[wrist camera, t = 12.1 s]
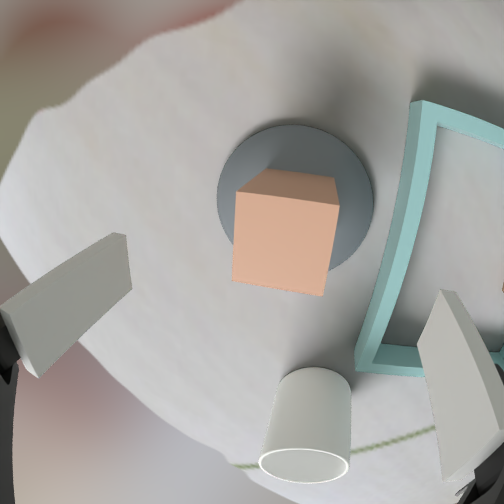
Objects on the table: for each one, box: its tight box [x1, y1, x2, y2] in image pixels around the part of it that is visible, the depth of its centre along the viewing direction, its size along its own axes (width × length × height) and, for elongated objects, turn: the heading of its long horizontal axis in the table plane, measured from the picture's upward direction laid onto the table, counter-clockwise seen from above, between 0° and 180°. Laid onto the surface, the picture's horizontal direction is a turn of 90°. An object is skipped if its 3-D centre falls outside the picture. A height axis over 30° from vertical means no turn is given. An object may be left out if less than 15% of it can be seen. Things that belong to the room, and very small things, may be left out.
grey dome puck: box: [217, 125, 373, 271], centre depth 23 cm, size 12×12×1 cm
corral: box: [354, 100, 504, 377], centre depth 19 cm, size 19×22×3 cm
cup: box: [259, 367, 351, 483], centre depth 27 cm, size 8×12×10 cm
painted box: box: [232, 168, 340, 296], centre depth 19 cm, size 5×5×8 cm
